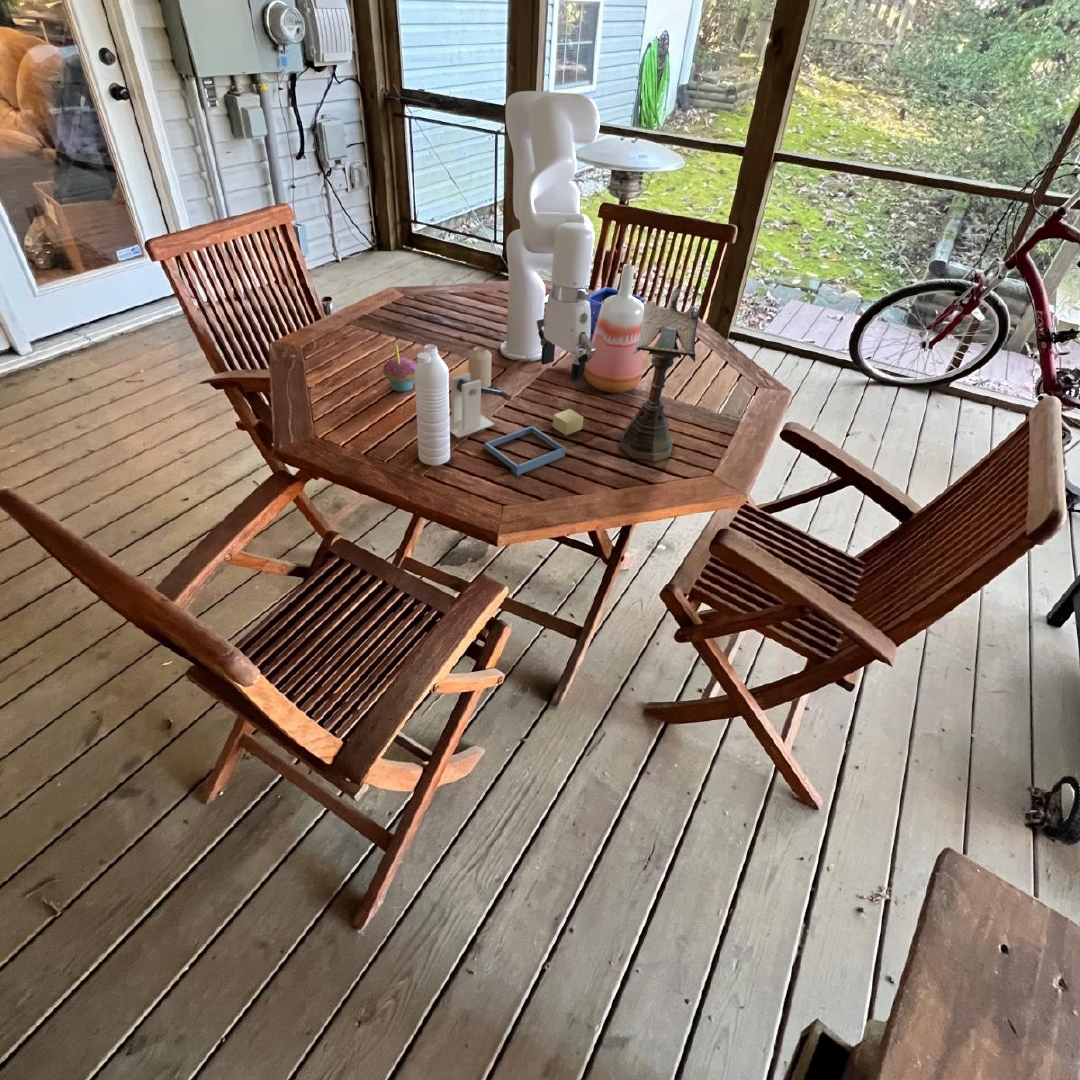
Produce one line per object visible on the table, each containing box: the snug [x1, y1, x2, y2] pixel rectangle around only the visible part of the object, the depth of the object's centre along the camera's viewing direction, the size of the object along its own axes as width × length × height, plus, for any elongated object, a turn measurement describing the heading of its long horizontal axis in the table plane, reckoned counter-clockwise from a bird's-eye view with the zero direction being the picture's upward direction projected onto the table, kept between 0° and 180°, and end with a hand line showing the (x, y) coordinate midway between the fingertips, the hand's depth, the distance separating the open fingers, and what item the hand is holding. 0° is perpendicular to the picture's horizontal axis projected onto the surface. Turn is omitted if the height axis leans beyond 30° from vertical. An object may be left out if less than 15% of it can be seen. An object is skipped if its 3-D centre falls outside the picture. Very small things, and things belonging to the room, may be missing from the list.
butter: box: [552, 408, 584, 436], centre depth 154 cm, size 5×4×4 cm
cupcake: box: [382, 343, 418, 393], centre depth 163 cm, size 9×8×12 cm
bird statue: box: [619, 288, 700, 462], centre depth 140 cm, size 17×13×35 cm
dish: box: [483, 425, 567, 476], centre depth 146 cm, size 13×11×2 cm
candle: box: [468, 346, 493, 388], centre depth 166 cm, size 6×6×10 cm
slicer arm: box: [457, 379, 512, 402], centre depth 151 cm, size 13×5×2 cm, turn 130°
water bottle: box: [414, 343, 451, 466], centre depth 134 cm, size 9×6×25 cm
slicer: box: [449, 371, 496, 439], centre depth 150 cm, size 10×8×12 cm
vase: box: [584, 264, 645, 394], centre depth 166 cm, size 14×14×30 cm
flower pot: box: [587, 286, 645, 340], centre depth 194 cm, size 13×13×12 cm
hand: (561, 371), depth 147 cm, fingers open, 9 cm apart
